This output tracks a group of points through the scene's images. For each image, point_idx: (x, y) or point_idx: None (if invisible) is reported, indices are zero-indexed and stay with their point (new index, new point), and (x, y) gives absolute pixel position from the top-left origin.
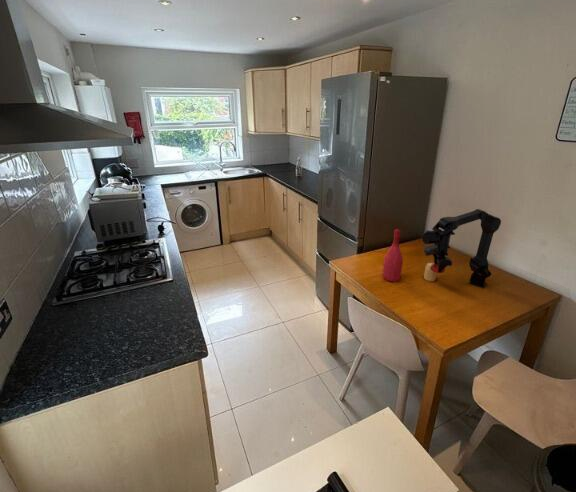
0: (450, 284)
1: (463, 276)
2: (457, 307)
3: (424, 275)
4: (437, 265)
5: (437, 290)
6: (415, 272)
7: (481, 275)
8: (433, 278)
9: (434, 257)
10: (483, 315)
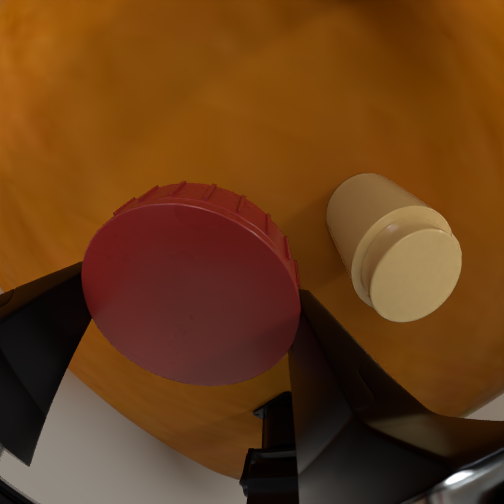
0: None
1: None
2: (52, 245)
3: (382, 179)
4: (231, 327)
5: None
6: (450, 151)
7: (250, 455)
8: (331, 233)
9: (351, 413)
10: None
